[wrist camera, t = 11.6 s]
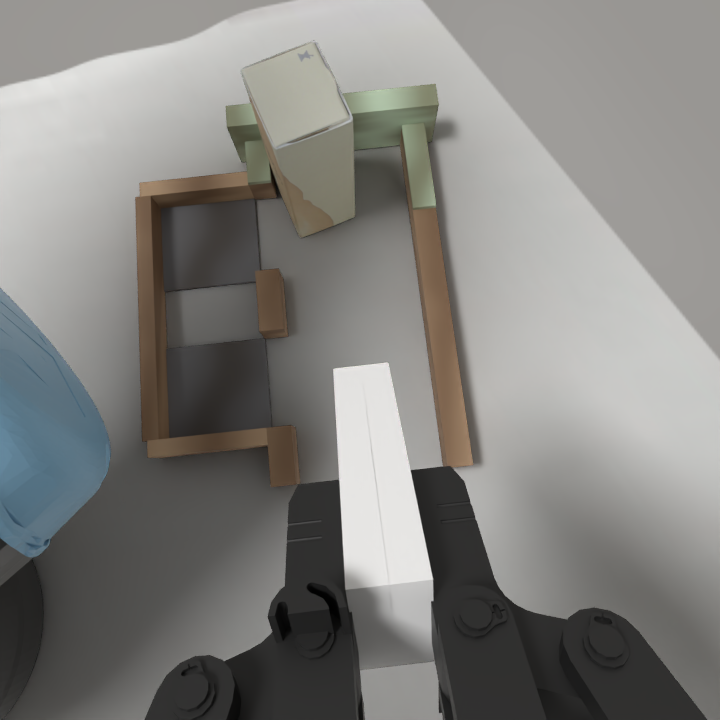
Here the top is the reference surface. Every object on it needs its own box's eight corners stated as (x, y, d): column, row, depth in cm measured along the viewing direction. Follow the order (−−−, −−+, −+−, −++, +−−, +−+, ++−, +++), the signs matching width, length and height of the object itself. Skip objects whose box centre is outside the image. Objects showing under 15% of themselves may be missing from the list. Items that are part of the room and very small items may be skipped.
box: (273, 178, 38) (235, 62, 27) (330, 156, 38) (315, 32, 27) (301, 243, 37) (273, 149, 26) (359, 219, 37) (355, 117, 26)
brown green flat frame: (156, 499, 34) (129, 503, 30) (145, 152, 38) (120, 117, 34) (479, 463, 34) (493, 463, 30) (428, 122, 38) (435, 83, 35)
